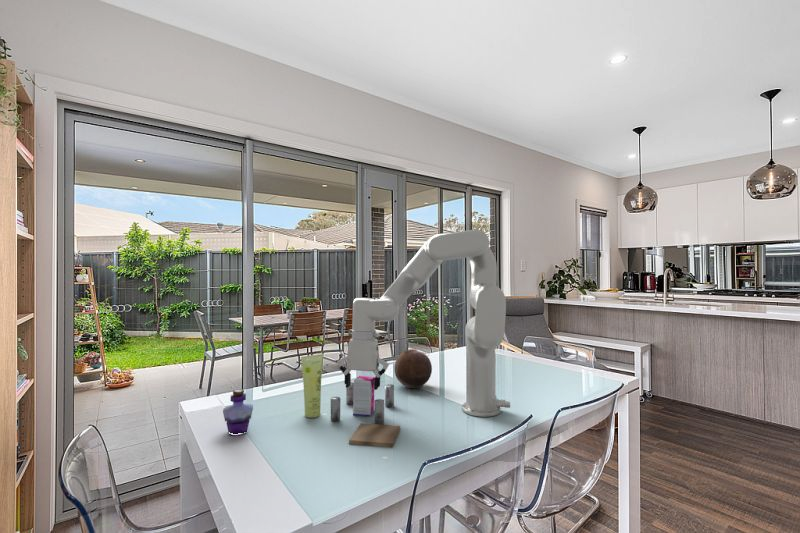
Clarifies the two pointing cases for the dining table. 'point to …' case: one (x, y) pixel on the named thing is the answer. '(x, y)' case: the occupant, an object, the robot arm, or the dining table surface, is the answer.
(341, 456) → the dining table surface
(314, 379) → the tube
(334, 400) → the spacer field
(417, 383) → the wooden sphere
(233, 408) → the potion bottle
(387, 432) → the walnut pad
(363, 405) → the supplement box
